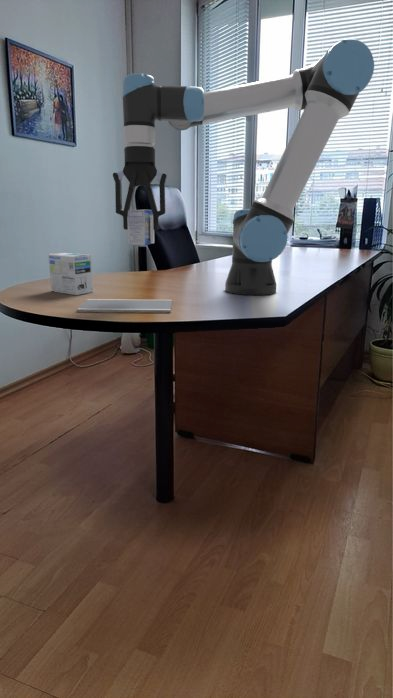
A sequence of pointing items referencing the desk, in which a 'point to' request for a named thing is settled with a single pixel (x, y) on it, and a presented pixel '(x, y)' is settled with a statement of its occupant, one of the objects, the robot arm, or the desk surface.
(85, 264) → the light bulb box
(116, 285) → the desk surface
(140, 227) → the medicine box
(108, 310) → the mat
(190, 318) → the desk surface
